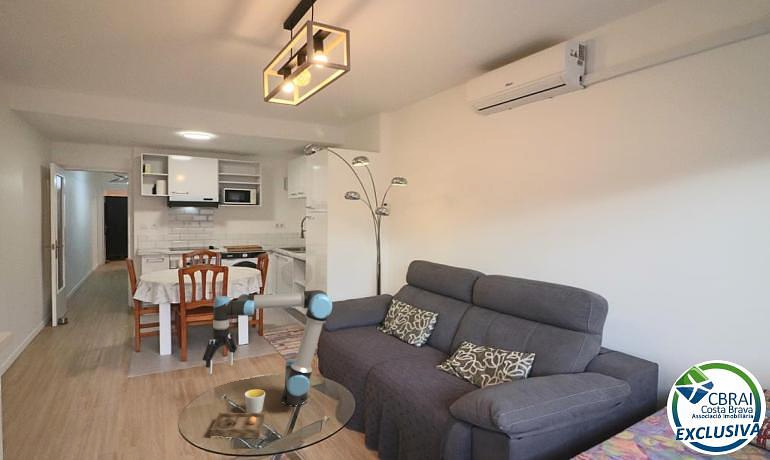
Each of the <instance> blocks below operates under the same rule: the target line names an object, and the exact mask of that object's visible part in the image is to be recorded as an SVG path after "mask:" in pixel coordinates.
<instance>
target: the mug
mask: <svg viewBox="0 0 770 460" xmlns="http://www.w3.org/2000/svg"><path fill="white" fill-rule="evenodd" d="M265 397H266V391H264V390H262V389H249V390H246V392H245V393H244V399H245V402H244V403H245V409H246V410H245V411H246V413H262V411H263V408H264V407H263V406H264V402H265Z"/></svg>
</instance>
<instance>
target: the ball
mask: <svg viewBox="0 0 770 460" xmlns="http://www.w3.org/2000/svg"><path fill="white" fill-rule="evenodd" d="M249 423H250V424H255V423H256V418H255V417H251V418H250V419H249Z"/></svg>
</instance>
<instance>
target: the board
mask: <svg viewBox="0 0 770 460" xmlns="http://www.w3.org/2000/svg"><path fill="white" fill-rule="evenodd" d="M265 416H266V414H265V412H260V413H247V412H219V413H218V416H217V417H216V418H215V420H214V422H213V424H212V426H211V427H210V431H209V437H210V436H223V437H233V438H232V439H259V438H260V436H261V433H262V429H263V426H264V423H265ZM251 417H255V418H256V423H255V424H250V423H249V419H250V418H251Z"/></svg>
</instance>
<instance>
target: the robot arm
mask: <svg viewBox="0 0 770 460" xmlns="http://www.w3.org/2000/svg"><path fill="white" fill-rule="evenodd" d="M212 307H213V311H212V312H213V313H212V314H213V318H212V319H213V320H212V321H213V322H212V323H213V325H212V326H213V327H212V337H213V339H208V341H207V345H206V348H205V351H204V353H203V356H202V361H205V367H206V373H207V374H208V375H211V374H213V360H212V359H213V357H214V355H215V354H216V352H217V350H218V349H220V347H223V346H224V347H225V348H226V349H227V350H228V352H227V365H228V366H233V360H234V355H235V354H234V353H236V351H237V349H238V347H237V345H236V343H235V340H234V336H233V334H232V333H230V316H232V317H235V316H237V317H239V316H244V317H245V316H246V317H248V316H254V314H255V310H258V309H259V310H260V309H278V308H279V309H280V308H281V309H282V308H298V307H299V308H302V309H306V313H305V317H306V323H305V326H304V330H303V333H302V337H301V341H300V344H299V346H298V351H297V354H296V357H295V358H291V359H288V360H287V361H286V363H285V373H284V375H285V376H284V388H283V391H282V393H281V396H280V402H281V401H282V402H284V403H285V404H286V405H285V406H287V405H297V404H301V403H303V402H305V401H306V400H307V399H308V400H309V393H308V391H309V389H310V386H311V381H310V380H311V376H312V372H313V368H312V362H313V360H314V355H315V352H316V348H317V346H318V342H319V338H320V335H321V332H322V327H323V325H324V324H325V323H326V322H327V321H328V317H329V316H330V314H331V313H332V310H333V302H332V299H331V298H330V296H328V294H327V293H326V292H325V291H323V290H319V289H313V290H302V291H301V292H294V293H293V292H292V293H273V294H271V293H270V294H269V293H268V294H247V293H242V294H240V295H239V296H238V297H237V299H236V300H231V298H230V296H227V295H226V296H225V295H221V296H219V295H218V296H216V297H214V299H213V306H212Z"/></svg>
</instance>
